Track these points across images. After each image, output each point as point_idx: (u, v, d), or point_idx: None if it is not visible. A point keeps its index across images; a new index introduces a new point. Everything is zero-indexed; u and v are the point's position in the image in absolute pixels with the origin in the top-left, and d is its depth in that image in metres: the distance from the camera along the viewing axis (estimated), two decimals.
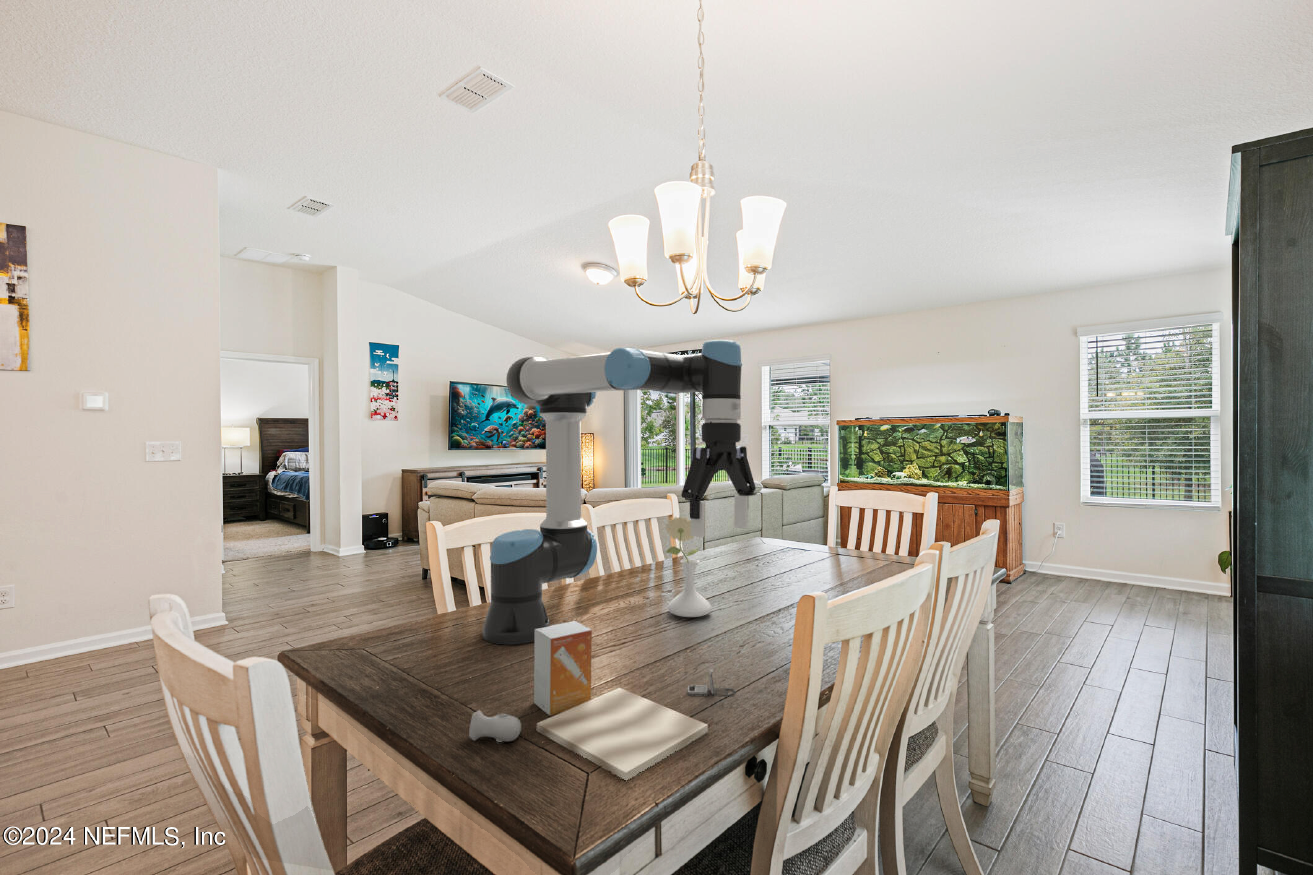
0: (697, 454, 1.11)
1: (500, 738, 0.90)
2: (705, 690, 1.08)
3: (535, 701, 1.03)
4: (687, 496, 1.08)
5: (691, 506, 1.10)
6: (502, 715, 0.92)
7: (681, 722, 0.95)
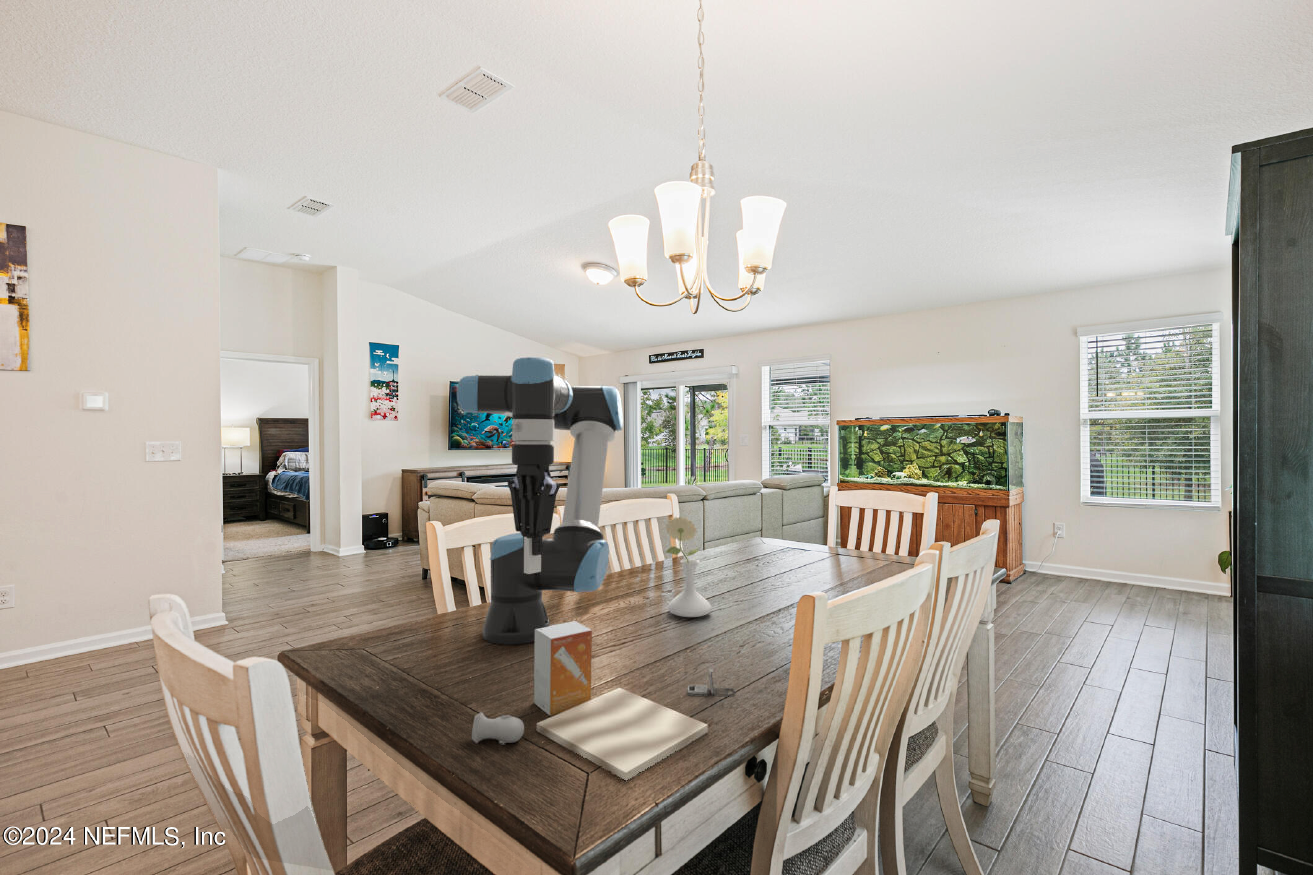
0: None
1: (504, 739, 0.90)
2: (705, 690, 1.08)
3: (535, 701, 1.03)
4: (520, 530, 1.12)
5: None
6: (505, 716, 0.92)
7: (681, 722, 0.95)
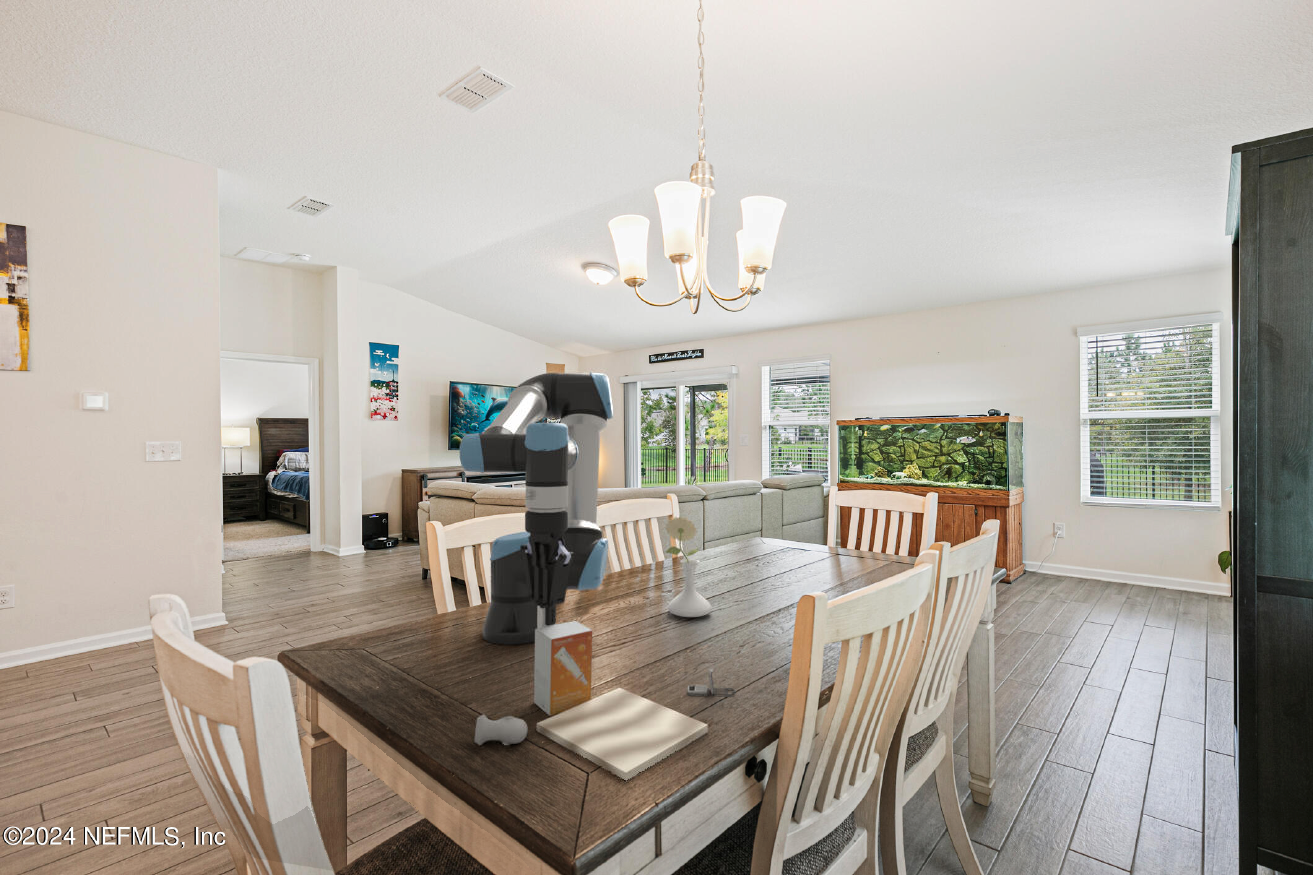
0: None
1: (508, 741, 0.89)
2: (705, 690, 1.08)
3: (535, 701, 1.03)
4: (533, 597, 1.09)
5: None
6: (508, 717, 0.91)
7: (681, 722, 0.95)
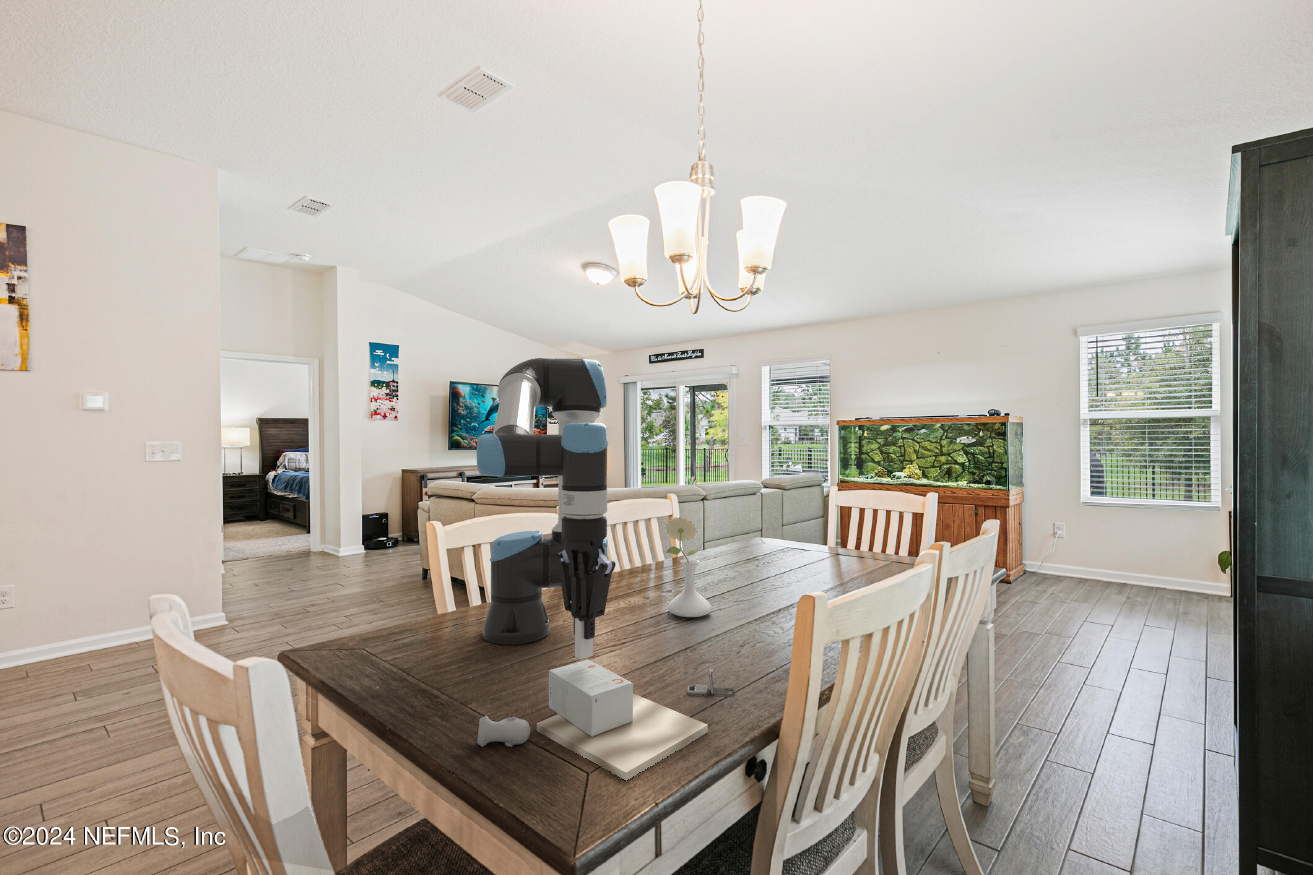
0: None
1: (511, 741, 0.89)
2: (705, 690, 1.08)
3: (549, 674, 0.99)
4: None
5: None
6: (511, 718, 0.91)
7: (681, 722, 0.95)
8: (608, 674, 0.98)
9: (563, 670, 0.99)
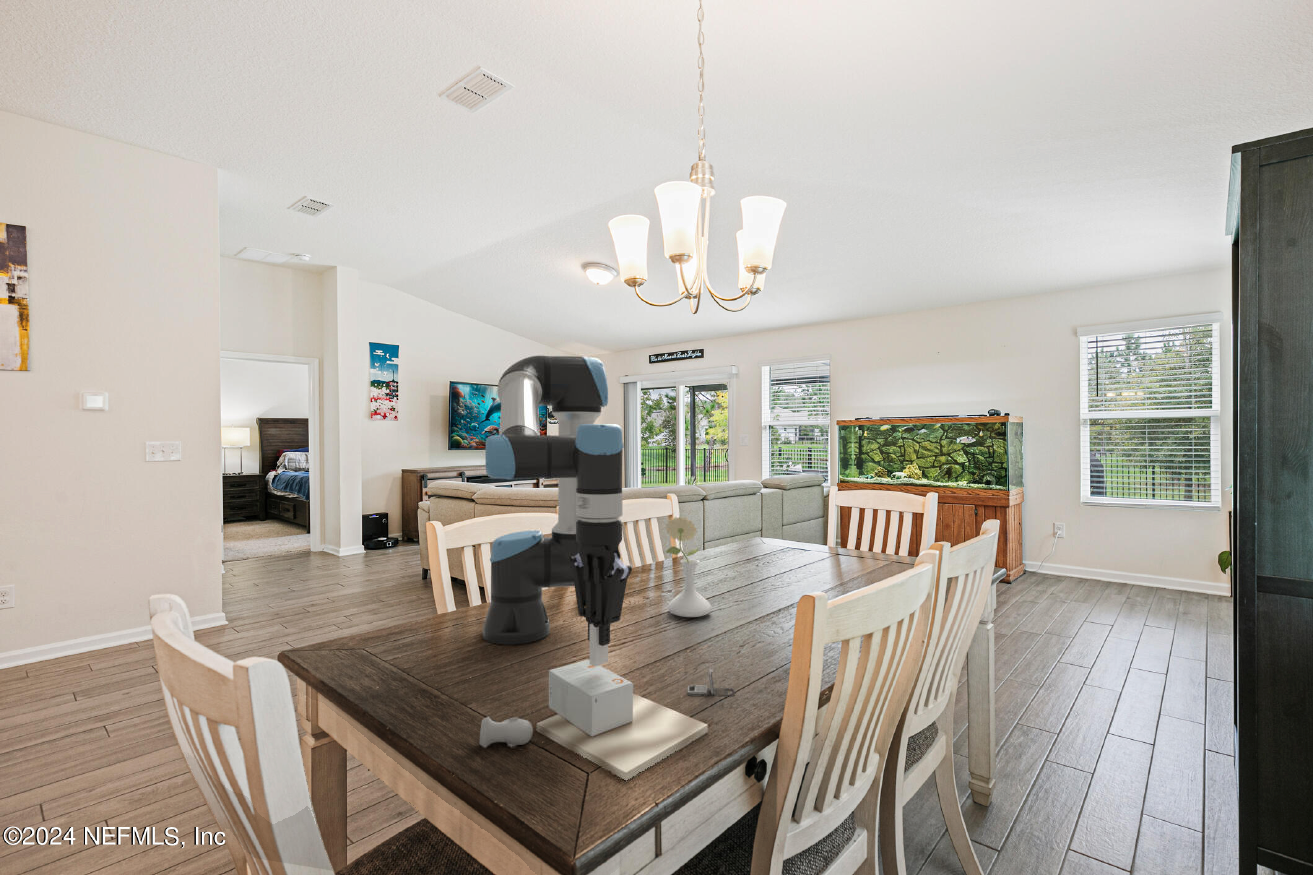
0: None
1: (514, 742, 0.89)
2: (705, 690, 1.08)
3: (549, 674, 0.99)
4: None
5: None
6: (513, 719, 0.91)
7: (681, 722, 0.95)
8: (608, 674, 0.98)
9: (563, 670, 0.99)
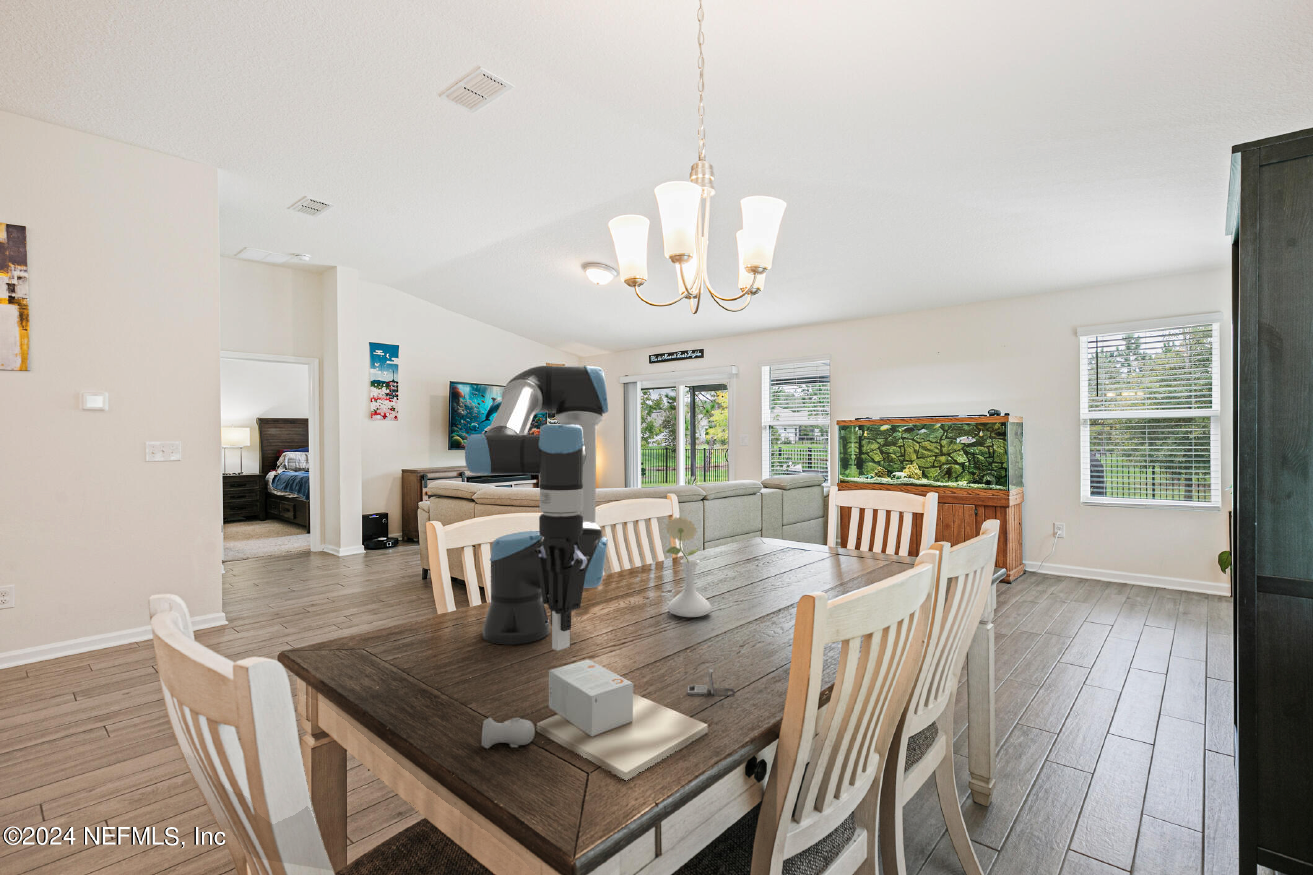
0: None
1: (517, 742, 0.89)
2: (705, 690, 1.08)
3: (549, 674, 0.99)
4: None
5: None
6: (515, 719, 0.91)
7: (681, 722, 0.95)
8: (608, 674, 0.98)
9: (563, 670, 0.99)
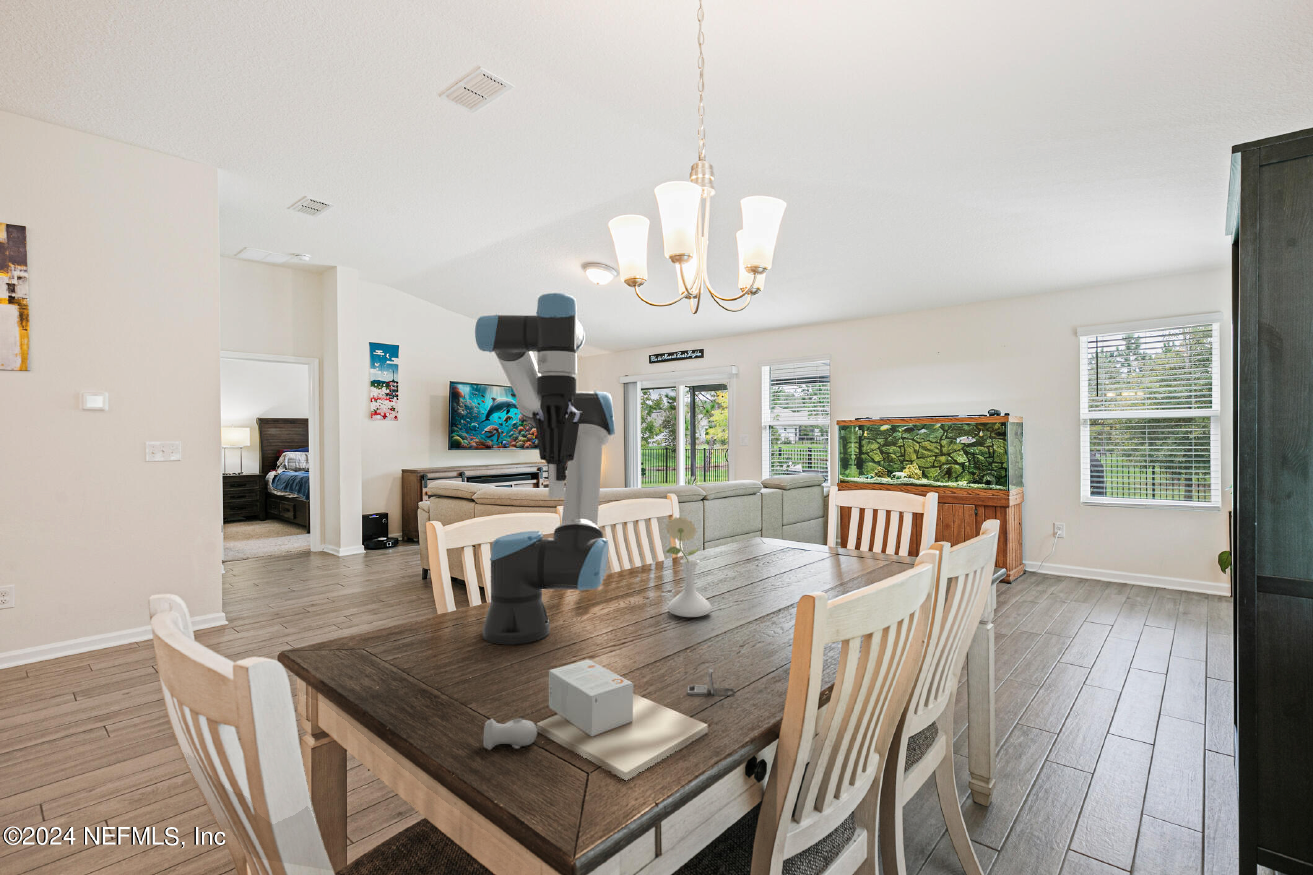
0: None
1: (519, 743, 0.89)
2: (705, 690, 1.08)
3: (549, 674, 0.99)
4: None
5: None
6: (517, 720, 0.90)
7: (681, 722, 0.95)
8: (608, 674, 0.98)
9: (563, 670, 0.99)
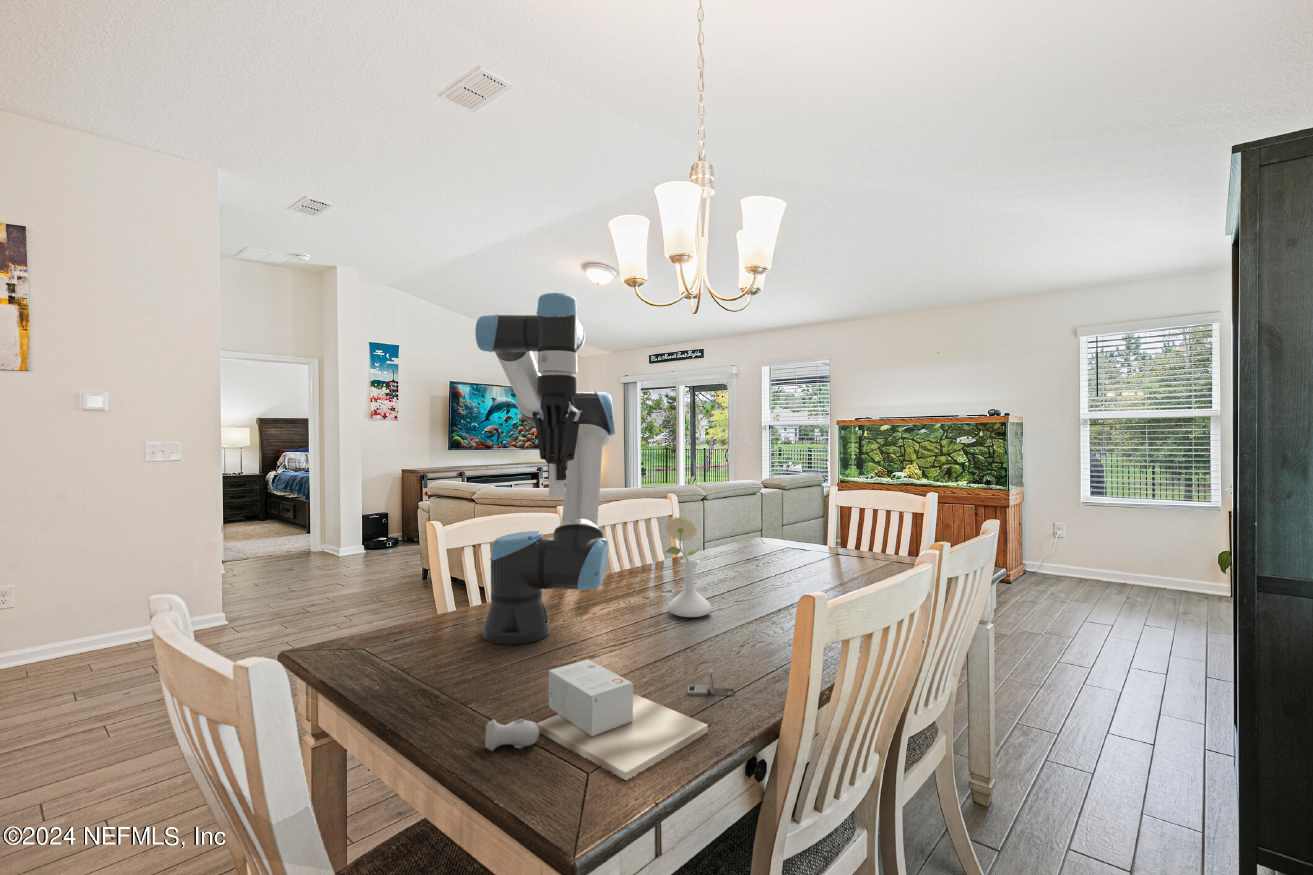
0: None
1: (522, 743, 0.89)
2: (705, 690, 1.08)
3: (549, 674, 0.99)
4: None
5: None
6: (519, 720, 0.90)
7: (681, 722, 0.95)
8: (608, 674, 0.98)
9: (563, 670, 0.99)
